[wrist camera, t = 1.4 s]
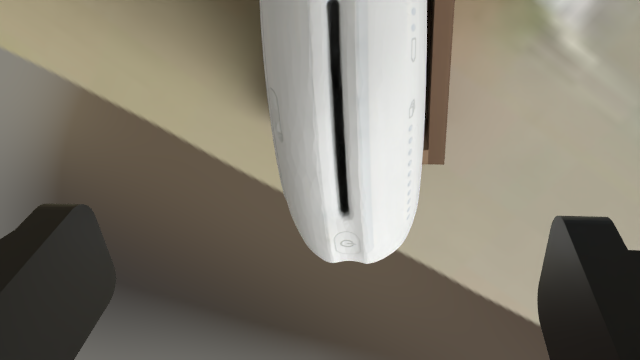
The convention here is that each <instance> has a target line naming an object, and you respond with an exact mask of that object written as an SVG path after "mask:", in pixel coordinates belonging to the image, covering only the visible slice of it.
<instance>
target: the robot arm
mask: <svg viewBox="0 0 640 360" xmlns="http://www.w3.org/2000/svg"><path fill="white" fill-rule="evenodd" d="M115 283H116V273H115V268H114V265H113V262H112V259H111V257H110V254H109V251H108V249H107V246H106V244H105V241H104V238H103V236H102V233H101V230H100V227H99V225H98V222H97V220H96V217H95V215H94V212H93V211H92V209H91V208H90V207H89V206H87V205H84V204H43V205H40V206H38V207H37V208H36V209H35V210H34V211H33V212H32V213H31V214H30V215H29V216H28V217H27V218H26V219H25V220H24V221H23V222H22V223H21V224H20V226H19V227H18V228H17V229H16V230H15V231H13V232H11V233H9V234H8V235H6V236H5V237H3V238H2V239H0V360H74V359H75V357H76V356H77V354H78V352H79V351H80V349H81V348H82V346H83V344H84V343H85V341H86V339H87V338H88V336H89V334H90V333H91V331H92V330H93V328H94V327H95V325H96V323H97V321H98V320H99V318H100V317H101V315H102V313H103V312H104V310H105V309H106V307H107V306H108V304H109V302H110V300H111V298H112V296H113V293H114V289H115ZM538 315H539V321H540V325H541V329H542V332H543V336H544V340H545V343H546V347H547V351H548V354H549V358H550V360H640V251H637V250H628V249H627V247H626V246H625V244H624V242H623V240H622V238H621V236H620V234H619V232H618V231H617V229H616V227H615V225H614V223H613V222H612V220H611V219H610V218H608V217H584V216H556V217H555V218H554V220H553V222H552V225H551V229H550V234H549V239H548V243H547V248H546V253H545V257H544V262H543V267H542V272H541V276H540V281H539V286H538Z"/></svg>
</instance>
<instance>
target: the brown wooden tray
mask: <svg viewBox="0 0 640 360" xmlns="http://www.w3.org/2000/svg"><path fill="white" fill-rule="evenodd" d="M454 3H455V0H431V22H430V46H429V71H428V96H427V119H425V123H424V143H423V157H422V164H444V159H445V143H446V128H447V112H448V96H449V81H450V65H451V49H452V34H453V18H454Z"/></svg>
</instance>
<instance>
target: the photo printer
mask: <svg viewBox="0 0 640 360" xmlns="http://www.w3.org/2000/svg"><path fill="white" fill-rule="evenodd" d="M260 20H261V34H262V46H263V60H264V70H265V80H266V89H267V98H268V105H269V113H270V120H271V127H272V134H273V141H274V148H275V154H276V159H277V165H278V169H279V175H280V179H281V184H282V188H283V193H284V196H285V199H286V200H287V202H288V206H289V210H290V213H291V215H292V218H293V220H294V223H295V225H296V227H297V229H298V231H299V233H300V235H301V236H302V238H303V240H304V241H305V243H306V244H307V246H308V247H309V248H310V249H311V251H313V252H314V253H315V254H316V255H317V256H319V257H321V258H322V259H323V260H325V261H327V262H331V263H335V262H340V261H357V262H362V263H365V264H368V263H373V262H376V261H379V260H381V259H383V258H385V257H386V256H388V255H390V254H391V253H393V252H394V251H395V250H396V249H398V248H399V247H400V245H401V244H402V243H403V242H404V240H405V238H406V237H407V235H408V233H409V230H410V228H411V225H412V223H413V220H414V217H415V213H416V210H417V205H418V200H419V192H420V180H421V171H422V157H423V143H424V123H425V97H426V59H427V0H260Z"/></svg>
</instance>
